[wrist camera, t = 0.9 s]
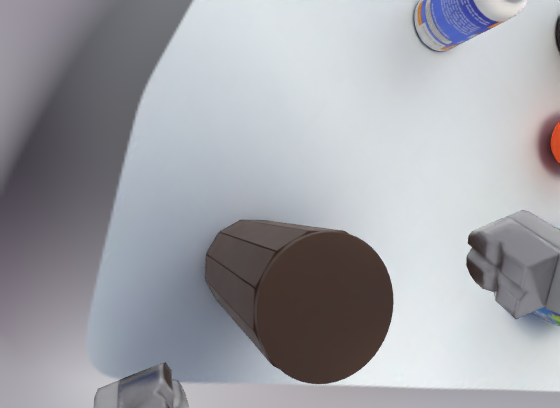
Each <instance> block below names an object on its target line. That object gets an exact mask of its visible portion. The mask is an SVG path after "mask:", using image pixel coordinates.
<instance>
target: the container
mask: <svg viewBox="0 0 560 408" xmlns="http://www.w3.org/2000/svg"><path fill="white" fill-rule="evenodd" d="M205 279H206V282H207V284H208V286H209V287H210V289H211V291H212V293H213V295H214V296H215V298H216V300H217V301H218V302H219V303H220V305H221V306H222V307H223V308H224V309H225V310H226V312H227V313H228V314H229V315H230V316H231V318H232V319H233V320H234V321H235V322H236V323H237V325H238V326H239V327H240V328H241V329H242V330H243V332H244V333H245V334H246V335H247V336H248V337H249V339H250V340H251V341H252V342H253V343H254V344H255V346H256V347H257V348H258V349H259V350H260V351H261V353H262V354H263V355H264V356H265V357H266V358H267V360H268V361H269V362H270V363H271V364H272V365H273V366H275V367H277V368H278V369H280V370H281V371H283V372H284V373H285V374H287V375H288V376H290V377H292V378H294V379H296V380H299V381H302V382H306V383H312V384H327V383H332V382H337V381H339V380H342V379H345V378H347V377H349V376H351V375H353V374H354V373H356V372H357V371H359V370H360V369H361V368H362V367H364V366H365V365H366V364H367V363H368V362H369V361H370V360H371V359H372V357H373V356H374V355H375V354H376V352H377V351H378V350H379V348H380V346H381V345H382V343H383V341H384V339H385V337H386V334H387V332H388V329H389V326H390V323H391V318H392V313H393V290H392V284H391V280H390V276H389V274H388V271H387V269H386V267H385V265H384V263H383V261H382V259H381V258H380V257H379V255H378V254H377V253H376V252H375V251H374V250H373V248H372V247H371V246H369V245H368V244H367V243H365V242H364V241H363V240H361V239H359V238H357V237H355V236H353V235H350V234H348V233H347V232H345V231H341V230H333V229H326V228H318V227H311V226H303V225H296V224H288V223H281V222H273V221H266V220H240V221H238V222H236V223H234V224H232V225H231V226H229V227H227V228H225V229H224V230H222V231H220V233H218V235H217V236H216V238H215V240H214V241H213V243H212V245H211V246H210V248H209V250H208V251H207V253H206V266H205Z"/></svg>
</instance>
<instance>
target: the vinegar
mask: <svg viewBox="0 0 560 408" xmlns="http://www.w3.org/2000/svg"><path fill="white" fill-rule="evenodd" d="M557 40H558V45H559V48H560V19H559V23H558V27H557Z"/></svg>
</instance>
